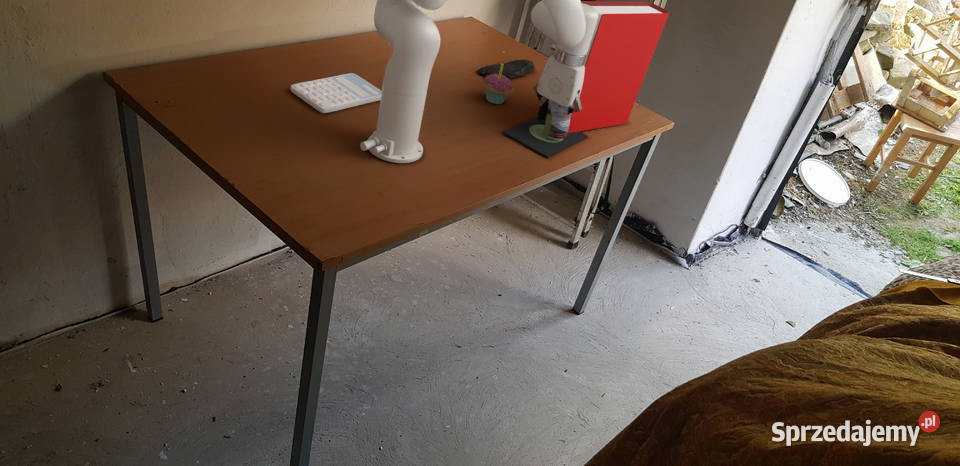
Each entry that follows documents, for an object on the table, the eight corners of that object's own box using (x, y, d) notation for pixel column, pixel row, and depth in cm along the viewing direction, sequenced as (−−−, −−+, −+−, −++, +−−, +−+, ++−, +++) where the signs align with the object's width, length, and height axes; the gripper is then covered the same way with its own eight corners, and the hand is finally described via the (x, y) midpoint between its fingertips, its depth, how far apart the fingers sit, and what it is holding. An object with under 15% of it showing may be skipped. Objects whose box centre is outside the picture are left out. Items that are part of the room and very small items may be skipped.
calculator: (288, 90, 171) (288, 83, 170) (352, 77, 184) (353, 71, 183) (322, 115, 165) (322, 107, 164) (386, 99, 178) (387, 92, 177)
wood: (492, 83, 201) (494, 73, 200) (475, 72, 205) (477, 62, 203) (543, 74, 215) (546, 65, 214) (526, 64, 219) (529, 55, 218)
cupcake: (506, 110, 189) (517, 68, 182) (476, 101, 189) (485, 59, 182) (511, 98, 196) (522, 58, 189) (482, 90, 196) (491, 49, 189)
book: (563, 133, 183) (603, 13, 165) (543, 119, 187) (580, 1, 170) (629, 123, 200) (672, 13, 182) (609, 110, 204) (649, 1, 187)
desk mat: (547, 158, 171) (548, 156, 171) (502, 133, 177) (502, 131, 177) (587, 137, 186) (587, 135, 185) (544, 115, 191) (545, 112, 191)
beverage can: (554, 145, 176) (567, 102, 170) (534, 131, 180) (546, 88, 174) (570, 141, 180) (584, 99, 174) (551, 127, 184) (564, 85, 178)
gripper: (533, 45, 170) (514, 113, 180) (591, 73, 163) (569, 142, 173) (549, 40, 175) (530, 106, 186) (606, 67, 168) (584, 134, 179)
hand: (549, 123), depth 179 cm, fingers open, 4 cm apart
